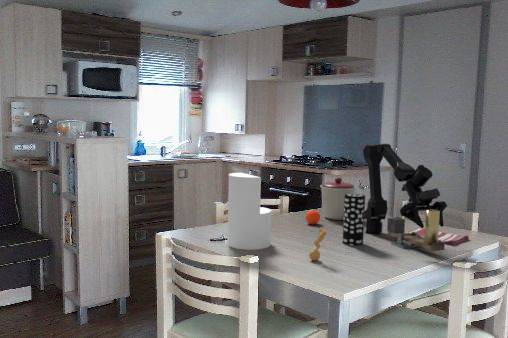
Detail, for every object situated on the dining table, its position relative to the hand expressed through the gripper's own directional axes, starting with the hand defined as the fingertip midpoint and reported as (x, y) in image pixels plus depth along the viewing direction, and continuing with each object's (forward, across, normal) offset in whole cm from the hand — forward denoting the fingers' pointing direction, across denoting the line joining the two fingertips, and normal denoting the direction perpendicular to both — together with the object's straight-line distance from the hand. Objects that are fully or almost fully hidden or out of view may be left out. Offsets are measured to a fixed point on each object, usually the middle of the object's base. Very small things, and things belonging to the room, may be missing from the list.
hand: (432, 226), depth 197 cm
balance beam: (-2, 0, +13) cm, 13 cm away
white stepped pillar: (-16, -61, +32) cm, 71 cm away
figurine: (+4, -46, +11) cm, 48 cm away
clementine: (-36, -19, +52) cm, 66 cm away
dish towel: (-8, +21, +24) cm, 33 cm away
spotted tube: (-9, -20, +25) cm, 33 cm away
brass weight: (+4, 0, +5) cm, 7 cm away
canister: (-43, 0, +59) cm, 73 cm away
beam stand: (-3, 0, +18) cm, 18 cm away
